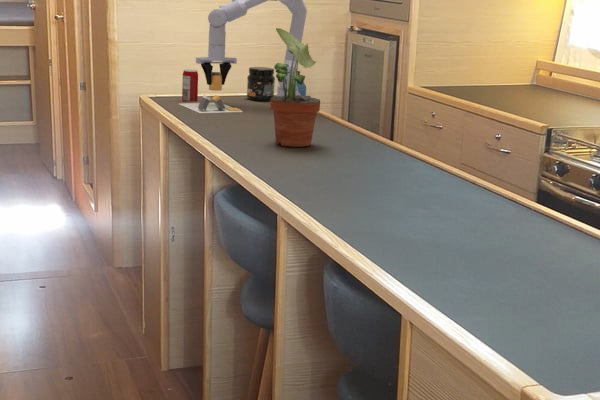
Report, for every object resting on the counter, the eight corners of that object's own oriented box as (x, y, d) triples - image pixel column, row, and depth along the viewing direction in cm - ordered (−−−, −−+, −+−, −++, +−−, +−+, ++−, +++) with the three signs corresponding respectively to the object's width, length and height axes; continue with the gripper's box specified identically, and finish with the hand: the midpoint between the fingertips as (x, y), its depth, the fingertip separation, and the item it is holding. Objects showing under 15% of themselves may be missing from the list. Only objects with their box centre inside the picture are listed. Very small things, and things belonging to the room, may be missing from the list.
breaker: (205, 112, 298) (211, 98, 297) (201, 110, 297) (207, 96, 296) (201, 110, 301) (207, 96, 300) (196, 108, 300) (203, 94, 300)
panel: (243, 115, 302) (243, 110, 302) (199, 116, 295) (199, 111, 294) (219, 106, 319) (220, 101, 319) (177, 107, 311) (178, 102, 311)
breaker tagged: (226, 109, 301) (219, 96, 299) (222, 112, 301) (215, 99, 298) (222, 107, 304) (215, 95, 302) (218, 110, 304) (211, 97, 301)
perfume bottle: (283, 102, 335) (284, 71, 332) (291, 101, 341) (292, 69, 338) (297, 104, 333) (299, 72, 330) (305, 103, 338) (307, 71, 335)
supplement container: (242, 97, 342) (243, 66, 339) (267, 97, 347) (268, 66, 344) (253, 102, 333) (254, 70, 330) (278, 101, 338) (280, 70, 334)
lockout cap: (223, 90, 308) (224, 73, 307) (212, 90, 306) (212, 73, 305) (218, 88, 312) (219, 71, 310) (207, 88, 310) (207, 71, 308)
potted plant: (257, 146, 252) (263, 20, 243) (279, 138, 265) (285, 18, 257) (308, 153, 246) (316, 24, 237) (328, 144, 260) (336, 23, 251)
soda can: (198, 102, 325) (199, 69, 322) (195, 104, 320) (196, 70, 317) (183, 101, 326) (184, 68, 323) (180, 103, 320) (181, 69, 317)
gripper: (231, 44, 312) (229, 82, 315) (192, 43, 305) (191, 83, 308) (239, 46, 306) (238, 85, 309) (200, 45, 299) (199, 85, 303)
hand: (215, 84), depth 309 cm, fingers closed on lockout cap, 4 cm apart
